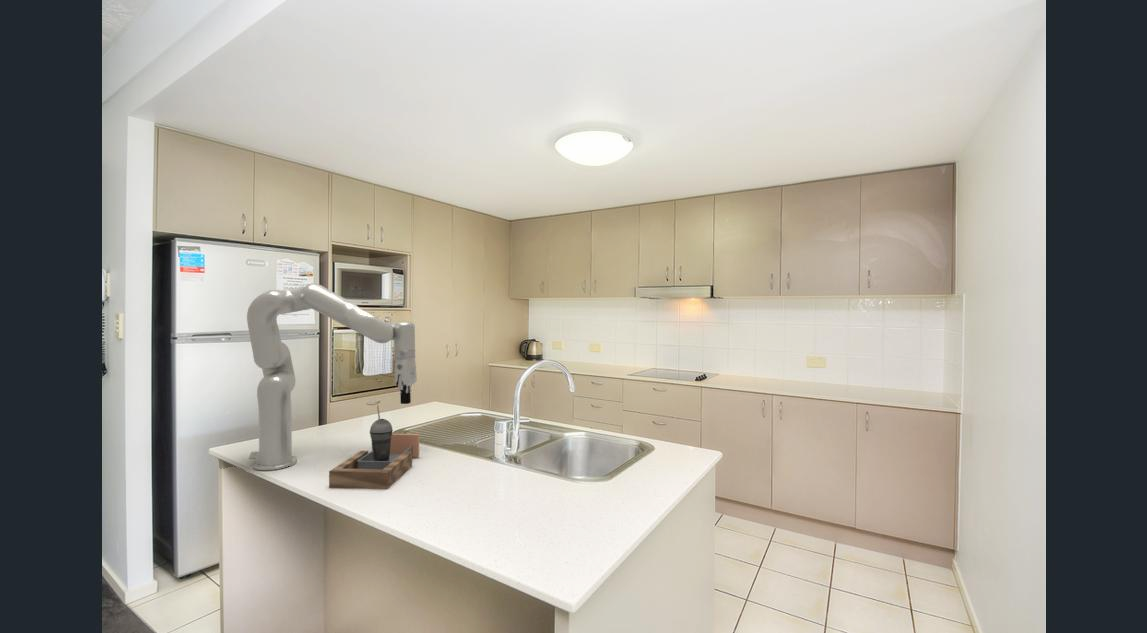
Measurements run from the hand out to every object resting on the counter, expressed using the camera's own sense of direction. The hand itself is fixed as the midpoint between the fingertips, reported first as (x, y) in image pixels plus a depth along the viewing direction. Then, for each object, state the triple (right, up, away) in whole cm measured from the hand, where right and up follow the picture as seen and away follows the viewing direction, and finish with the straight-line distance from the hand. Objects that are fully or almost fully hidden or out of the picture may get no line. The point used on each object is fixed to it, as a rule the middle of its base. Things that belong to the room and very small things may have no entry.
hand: (405, 403), depth 178 cm
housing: (-1, -19, -25) cm, 32 cm away
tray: (-1, -19, -16) cm, 25 cm away
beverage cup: (-1, -18, -19) cm, 26 cm away
